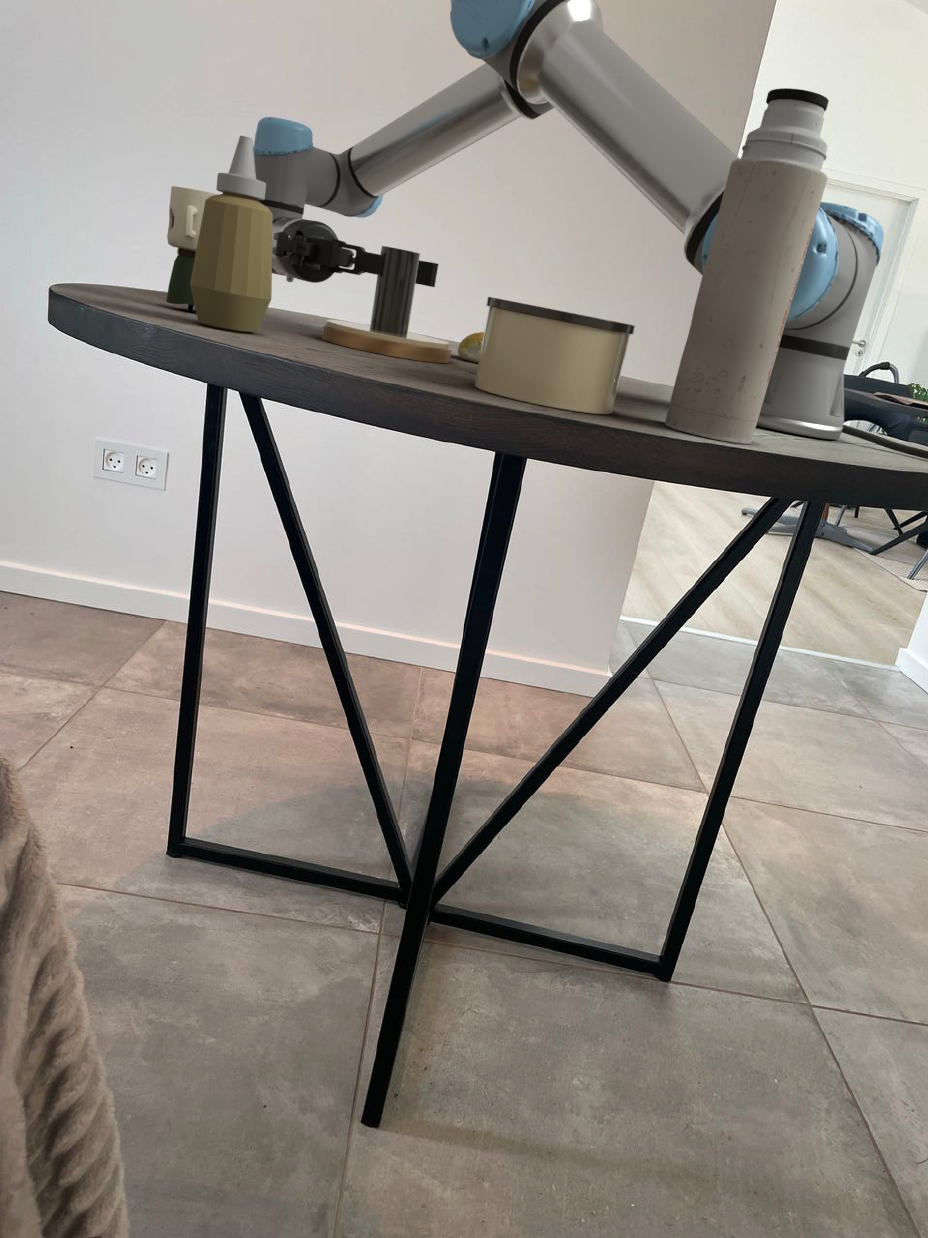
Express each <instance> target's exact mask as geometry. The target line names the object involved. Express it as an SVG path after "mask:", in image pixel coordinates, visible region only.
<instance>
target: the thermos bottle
mask: <svg viewBox="0 0 928 1238" xmlns="http://www.w3.org/2000/svg"><path fill="white" fill-rule="evenodd" d="M829 102H830V101H829V99H828V97H826V96H825V95H822V94H820V93H817V92H814V91H811V90H806V89H800V88H790V87H789V88H775V89H771V90H769V91H768V93H767V96H766V100H765V103H766V105H767V108H766V109H765V110H764V112H763V116H762V119H761V121H760V122H761V123H760V126H759V127H757V128H756V129H753V130H752V131H750V132H749V133H748V134H747V136H746V139H745V143H744V145H743V146H742V147H741V150H742V153H741V158H740V159H737V160H734V161H733V162H732V163H731V167H730V171H729V174H728V178H727V182H726V186H725V190H724V194H723V198H722V202H721V206H720V210H719V213H718V217H717V221H716V225H715V229H714V233H713V237H712V241H711V245H710V249H709V252H708V256H707V260H706V264H705V268H704V272H703V276H702V275H701V276H702V277H701V281H700V284H699V288H698V291H697V296H696V300H695V302H694V303H695V304H694V307H693V313H692V317H691V323H690V326H689V331H688V335H687V338H686V341H685V345H684V347H683V351H682V355H681V358H680V362H679V366H678V369H677V374H676V378H675V381H674V384H673V385H674V386H673V389H672V393H671V396H670V401H669V404H668V409H667V413H666V416H665V420H664V426H666V427H668V428H670V429H673V430H676V431H678V432H679V431H680V432H681V433H682V432H683V433H685V434H686V433H687V434H691V435H694V436H698V437H703V438H707V439H712V440H716V441H722V442H726V443H734V444H744V445H749V444H751V443H752V442H753V437H754V434H755V431H756V427H757V426H756V424H757V421H758V417H759V414H760V411H761V407H762V404H763V400H764V397H765V393H766V390H767V386H768V383H769V379H770V376H771V372H772V369H773V366H774V362H775V359H776V355H777V352H778V348H779V344H780V340H781V336H782V333H783V329H784V325H785V322H786V318H787V315H788V312H789V308H790V305H791V302H792V299H793V296H794V293H795V289H796V286H797V283H798V279H799V276H800V272H801V269H802V265H803V262H804V258H805V255H806V251H807V248H808V245H809V241H810V238H811V234H812V231H813V227H814V224H815V220H816V217H817V213H818V210H819V206H820V203H821V202H822V200H823V196H824V193H825V188H826V186H827V182H828V177H829V176H828V175H827V174H826V173H825V172H823V171H822V168H823V164H824V161H826V160H827V157H828V155H827V154H826V153H827V150H828V145H827V143H826V141H825V140H824V139H823V138H822V137H821V132H822V130H823V129H822V128H823V126H824V122H825V118H824V114H825V112H826V111H827V109H828V105H829Z"/></svg>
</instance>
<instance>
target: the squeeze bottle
mask: <svg viewBox="0 0 928 1238" xmlns="http://www.w3.org/2000/svg"><path fill="white" fill-rule="evenodd" d="M253 141H254V140H253V138H252V137H249V136H245V135H240V136H239V138H238V141H237V144H236V148H235V150H234V154H233V158H232V160H231V164H230V167H229V169H228V172H218V173H217V175H216V176H217V177H216V188H215V189H216V191H218V192H220V193H219V194H218V195H214V196H211V197H209V198H208V199H206V200H205V206H204V211H203V217H202V222H201V227H200V233H199V238H198V244H197V249H196V255H195V260H194V265H193V271H192V276H191V282H190V286H191V291H192V295H193V300H194V304H195V306H194V310H195V309H196V310H195V313H196V317H197V321H198V322H199V323H201V324H203V325H205V326H207V327H210V328H213V329H218V330H224V331H230V332H235V333H236V332H237V333H246V334H249V333H257V332H258V330H259V328H260V325H261V323H262V321H263V318H264V316H265V314H266V312H267V310H268V308H269V305H270V304H271V302H272V289H273V287H272V285H273V279H272V278H273V273H272V221H273V214H272V212H271V211H270V210H269V209H268V208H267V207H266V206H264V205H263V204H261V203H260V202H258V200H265V191H266V183H264V182H262V181H259V180H257V179H256V172H255V162H254V151H253V147H254V142H253Z"/></svg>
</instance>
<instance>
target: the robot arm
mask: <svg viewBox="0 0 928 1238" xmlns="http://www.w3.org/2000/svg"><path fill="white" fill-rule="evenodd" d="M450 5H451V7H450V9H451V10H450V11H449V18H450V26H451V29H452V33H453V35H454V38H455V39H456V41H457V42H458V44H459V45H460V46H461V47H462V48H463V49H464V50H465V51H466V52H467V54H468V55H469V56H470V57H472V58H474V59H477V60H482V61H483V62H484V63H483V64H482V65H480V66H479V67H477V68H476V69H473V70H472V71H470V72H469V73H468V74H466V75H465V76H463V77H461V78H460V79H458V80H456V81H455V82H453V83H451V84H450V85H448V86H446V87H445V88H443V89H442V90H440V91H439V92H437V93H436V94H434V95H432V96H431V97H429V98H427V99H426V100H425V101H423V102H421V103H420V104H418V105H417V106H415V107H413V108H412V109H410V110H409V111H407V112H406V113H404V114H402V115H400V116H399V117H398V118H396V119H394V120H393V121H391V122H389V123H388V124H386V125H385V126H383V127H382V128H380V129H378V130H377V131H375V132H373V133H372V134H370V135H369V136H367V137H366V138H364V139H362V140H360V141H359V142H358V143H356V144H354V145H353V146H351V147H349V148H347V149H346V150H344V151H342V152H341V153H337V154H336V153H333V152H331V151H327V150H324V149H321V148H318V147H316V146H314V143H313V136H314V135H313V130H312V129H311V128H310V127H309V126H307V125H305V124H304V123H300V122H297V121H293V120H290V119H286V118H281V117H275V116H274V117H273V116H265V117H262V118H261V119H259V121H258V122H257V124H256V125H257V126H256V129H255V130H256V132H255V134H254V140H253V141H254V142H253V151H254V162H255V172H256V179H257V180H259V181H262V182H264V183H266V191H265V200H258V202H260V203H261V204H263V205H264V206H266V207H267V208H268V209H269V210H270V211H271V212H272V214H273V221H272V275H279V276H283V277H286V278H285V279H286V282H288V283H293V282H294V280H295V279H296V280H299V281H303V282H307V283H313V284H316V283H317V284H318V283H322V282H325V281H327V280H329V279H330V278H332V276H333V275H334V274H343V273H344V274H345V273H346V274H351V275H357V276H360V275H362V274H366V273H367V274H371V275H376V276H378V269H379V262H380V255H381V254H378V253H373V252H369V251H367V250H366V249H365V248H364V247H363V246H358V245H354V244H348V243H347V242H346V241H344V240H340V239H339V238H338V235H337V234H336V233H335V231H334V230H333V229H332V228H331V226H329V225H328V224H326V223H324V222H322V221H318V220H312V219H305V218H303V216H304V211H305V205H308V206H311V207H315V208H319V209H323V210H326V211H330V212H333V213H336V214H338V215H342V216H344V217H348V218H359V219H360V218H362V219H363V218H367V217H370V216H372V215H373V214H375V213H376V212H377V210H378V208H379V206H380V205H381V204H382V201H383V198H384V194H386V193H388V192H390V191H392V190H393V189H395V188H397V187H399V186H400V185H402V184H404V183H405V182H407V181H409V180H411V179H413V178H414V177H416V176H418V175H420V174H422V173H424V172H425V171H427V170H429V169H431V168H432V167H435V166H436V165H438V164H440V163H441V162H443V161H444V160H445V161H446V160H447V159H448V158H450V157H452V156H453V155H455V154H457V153H459V152H461V151H462V150H464V149H466V148H468V147H470V146H471V145H473V144H475V143H477V142H479V141H481V140H482V139H484V138H486V137H488V136H489V135H491V134H493V133H495V132H497V131H498V130H500V129H501V128H503V127H506V126H507V125H509V124H510V123H513V122H514V121H517V120H518V119H520V118H524V119H526V120H528V121H533V120H535V119H537V118H539V117H540V116H542V115H545V114H546V113H548V112H550V111H551V110H553V109H555V110H556V111H557V112H558V113H559V114H560V115H561V116H562V117H563V118H564V119H565V120H566V121H567V122H568V123H569V124H571V126H572V127H573V128H574V129H575V130H577V132H578V133H579V134H580V135H581V136H583V138H585V139H586V141H588V142H589V144H590V145H592V146H593V147H594V148H595V149H596V150H597V151H598V152H599V153H600V154H601V155H602V156H603V157H604V158H605V159H606V160H607V161H608V162H609V163H610V164H611V165H612V166H613V167H614V168H615V169H616V170H617V171H618V172H619V173H620V174H621V175H622V176H623V177H624V178H625V179H626V180H627V181H629V183H630V184H632V185H633V186H634V188H636V189H637V190H638V191H639V193H640V194H642V195H643V196H644V197H645V199H647V200H648V201H649V202H650V203H651V205H653V206H654V207H655V208H656V209H657V210H658V211H659V212H660V213H661V214H662V215H663V216H664V217H665V218H666V219H667V220H668V221H669V222H670V223H671V224H672V225H673V226H674V227H675V228H676V229H677V230H678V231H679V232H680V233H681V234H682V235H683V236H684V240H683V241H684V245H683V255H684V258H685V259H686V260H687V262H688V263H689V264H690V265H691V266H692V267H693V268H694V269H695V270H696V271H697V272H698V273H699V274H700V275H701V276H703V272H704V268H705V264H706V260H707V256H708V252H709V249H710V245H711V241H712V237H713V233H714V229H715V225H716V221H717V217H718V213H719V210H720V206H721V202H722V198H723V194H724V190H725V186H726V182H727V178H728V174H729V171H730V167H731V163H732V162H733V161H734V160H737V159H741V158H740V157H739V156H738V155H737V154H735V152H734V151H732V149H730V147H728V146H727V145H726V144H725V143H724V142H723V141H721V139H719V138H718V137H717V135H715V134H714V133H713V132H712V131H711V130H710V129H709V128H708V127H707V126H706V125H704V123H702V121H700V120H699V119H698V118H697V117H696V116H695V115H694V114H693V113H692V112H690V111H689V109H687V108H686V107H685V106H684V105H683V104H682V103H681V102H680V101H679V100H678V99H676V97H675V96H673V95H672V94H671V93H670V92H669V91H668V90H667V89H666V88H664V87H663V86H662V85H661V84H660V83H659V82H658V81H657V80H656V79H655V78H654V77H653V76H652V75H651V74H650V73H648V72H647V71H646V70H645V69H644V68H643V67H642V66H641V65H640V64H639V63H638V62H636V61H635V59H633V58H632V57H631V56H630V55H629V54H628V53H627V52H626V51H625V50H624V49H623V48H621V46H619V45H618V43H616V42H615V41H614V40H613V39H612V38H611V37H610V36H609V35H608V34H606V32H605V31H604V23H603V17H602V11H601V9H600V7H599V5H598V4H597V1H596V0H450ZM884 237H885V232H884V229H883V226H882V225H881V223H880V222H879V221H878V220H877V219H876V218H875V217H873V216H872V215H869V214H868V213H865V212H859V210H858V209H856V208H853V207H850V206H847V205H842V204H838V203H832V202H826V201H821V203H820V206H819V210H818V213H817V217H816V220H815V224H814V227H813V231H812V234H811V238H810V241H809V245H808V248H807V251H806V255H805V258H804V262H803V265H802V269H801V272H800V276H799V279H798V283H797V286H796V289H795V293H794V296H793V299H792V302H791V305H790V308H789V312H788V315H787V318H786V322H785V325H784V329H783V333H782V336H781V340H780V344H779V348H778V352H777V355H776V359H775V362H774V366H773V369H772V372H771V376H770V379H769V383H768V386H767V390H766V393H765V397H764V400H763V404H762V407H761V411H760V414H759V417H758V421H757V424H756V427H761V428H765V429H771V430H773V431H779V432H785V433H788V434H794V435H799V436H806V437H811V438H818V439H825V440H834V441H835V440H840V438H841V434H842V433H843V434H846V435H849V436H852V437H854V438H858V439H861V440H863V441H867V442H870V443H872V444H874V445H878V446H880V447H884V448H886V449H889V450H893V451H894V452H899V453H902V454H906V455H909V456H913V457H917V458H922V459H924V460H928V450H926V449H922V448H918V447H913V446H910V445H906V444H902V443H899V442H896V441H893V440H891V439H887V438H885V437H882V436H880V435H877V434H874V433H871V432H868V431H864V430H861V429H858V428H855V427H853V426H849V425H846V424H844V423H845V379H844V378H845V373H844V371H845V367H846V363H847V360H848V356H849V353H850V351H851V347H852V344H853V341H854V338H855V335H856V332H857V329H858V325H859V322H860V319H861V315H862V313H863V309H864V307H865V303H866V300H867V297H868V294H869V290H870V288H871V284H872V281H873V278H874V275H875V271H876V268H877V267H878V265H879V262H880V260H881V258H882V247H883V242H884V239H885V238H884ZM354 251H355V253H354ZM353 265H354V266H353ZM352 267H353V268H352ZM350 268H352V269H350ZM438 269H439V263H436V262H431V261H425V260H421V259H419V265H418V271H417V277H416V284H415V285H421V286H425V287H431V288H435V286H436V282H437V281H436V280H437V275H438Z"/></svg>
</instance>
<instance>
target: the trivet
mask: <svg viewBox="0 0 928 1238" xmlns="http://www.w3.org/2000/svg"><path fill="white" fill-rule="evenodd" d="M321 339H322V340H323V341H326V342H328V343H332V344H335V345H338V346H342V347H346V348H351V349H353V350H359V351H364V352H368V353H373V354H378V355H382V356H388V357H394V358H400V359H405V360H412V361H417V362H418V361H419V362H427V363H437V364H448V363H450V360H451V354H452V348H451V347H449V348H448V349H436V348H428V347H421V346H415V345H408V344H402V343H397V342H391V341H386V340H381V339H376V338H371V337H366V336H361V335H357V334H352V333H348V332H344V331H340V330H337V329H333V328H330V327H328V326H326V324H323V327H322V335H321Z"/></svg>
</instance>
